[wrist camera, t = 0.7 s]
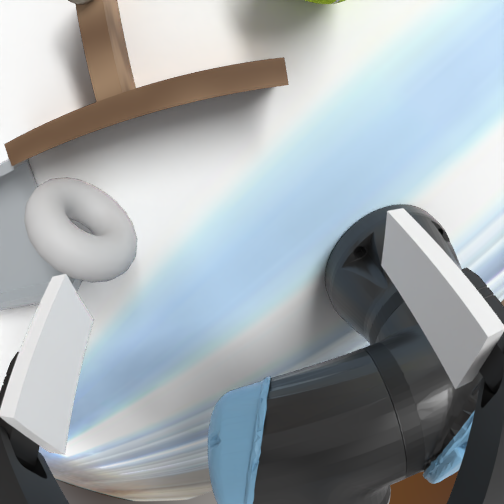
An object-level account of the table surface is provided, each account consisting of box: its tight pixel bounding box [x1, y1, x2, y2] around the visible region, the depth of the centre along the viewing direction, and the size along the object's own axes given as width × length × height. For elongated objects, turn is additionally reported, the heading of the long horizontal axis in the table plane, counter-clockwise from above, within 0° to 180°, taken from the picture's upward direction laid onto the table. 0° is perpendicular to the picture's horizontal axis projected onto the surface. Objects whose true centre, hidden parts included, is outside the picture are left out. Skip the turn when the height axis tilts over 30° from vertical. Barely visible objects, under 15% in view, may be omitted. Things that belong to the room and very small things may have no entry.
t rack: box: [4, 0, 288, 166], centre depth 17 cm, size 12×22×5 cm, turn 100°
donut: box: [24, 177, 137, 282], centre depth 22 cm, size 10×4×10 cm, turn 48°
